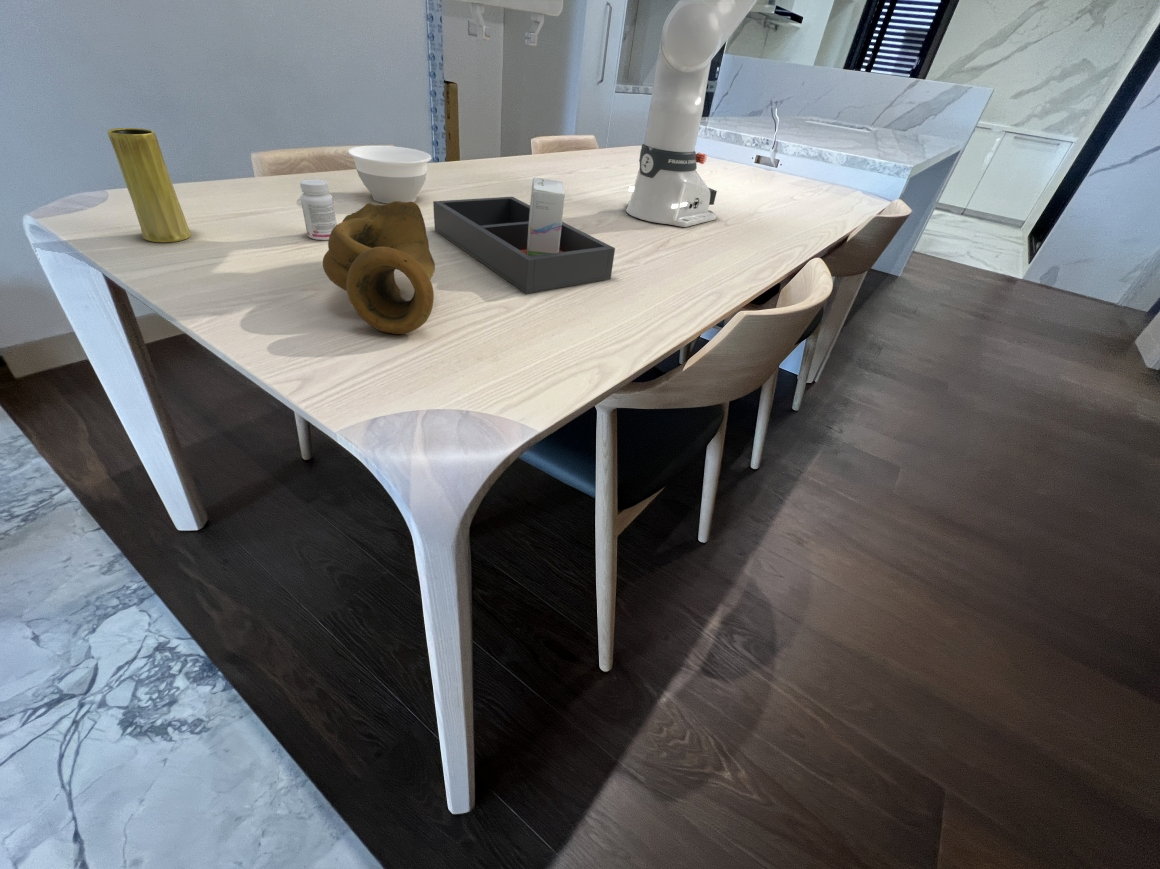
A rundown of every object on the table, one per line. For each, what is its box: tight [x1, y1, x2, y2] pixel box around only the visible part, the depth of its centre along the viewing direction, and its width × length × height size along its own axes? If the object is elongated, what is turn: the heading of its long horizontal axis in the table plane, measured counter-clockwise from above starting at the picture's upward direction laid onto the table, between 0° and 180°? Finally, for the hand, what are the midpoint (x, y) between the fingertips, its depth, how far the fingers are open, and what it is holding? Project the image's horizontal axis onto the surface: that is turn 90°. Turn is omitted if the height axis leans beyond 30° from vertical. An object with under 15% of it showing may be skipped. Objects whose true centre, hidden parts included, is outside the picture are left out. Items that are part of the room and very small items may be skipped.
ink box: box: [527, 177, 566, 257], centre depth 85 cm, size 9×5×12 cm, turn 5°
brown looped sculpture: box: [322, 201, 436, 335], centre depth 69 cm, size 18×13×22 cm
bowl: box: [347, 145, 432, 204], centre depth 109 cm, size 16×16×8 cm
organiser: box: [432, 196, 616, 295], centre depth 91 cm, size 16×32×5 cm, turn 37°
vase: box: [106, 127, 192, 243], centre depth 77 cm, size 6×6×14 cm
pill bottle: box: [299, 178, 338, 241], centre depth 86 cm, size 5×5×8 cm
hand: (507, 42), depth 92 cm, fingers open, 8 cm apart
